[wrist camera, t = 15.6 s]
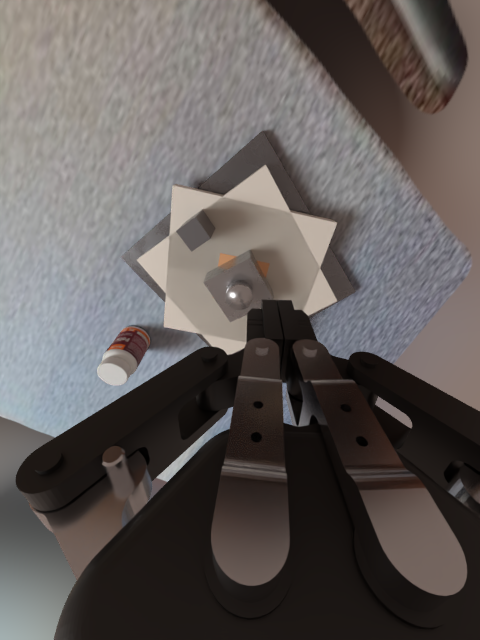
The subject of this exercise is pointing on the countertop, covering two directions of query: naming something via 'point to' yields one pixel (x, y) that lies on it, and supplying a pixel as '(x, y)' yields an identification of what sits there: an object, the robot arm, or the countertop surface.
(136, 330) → the pill bottle
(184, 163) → the countertop surface
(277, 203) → the turntable
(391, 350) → the countertop surface
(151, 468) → the robot arm
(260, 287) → the cover
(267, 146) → the base
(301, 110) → the countertop surface
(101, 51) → the countertop surface
